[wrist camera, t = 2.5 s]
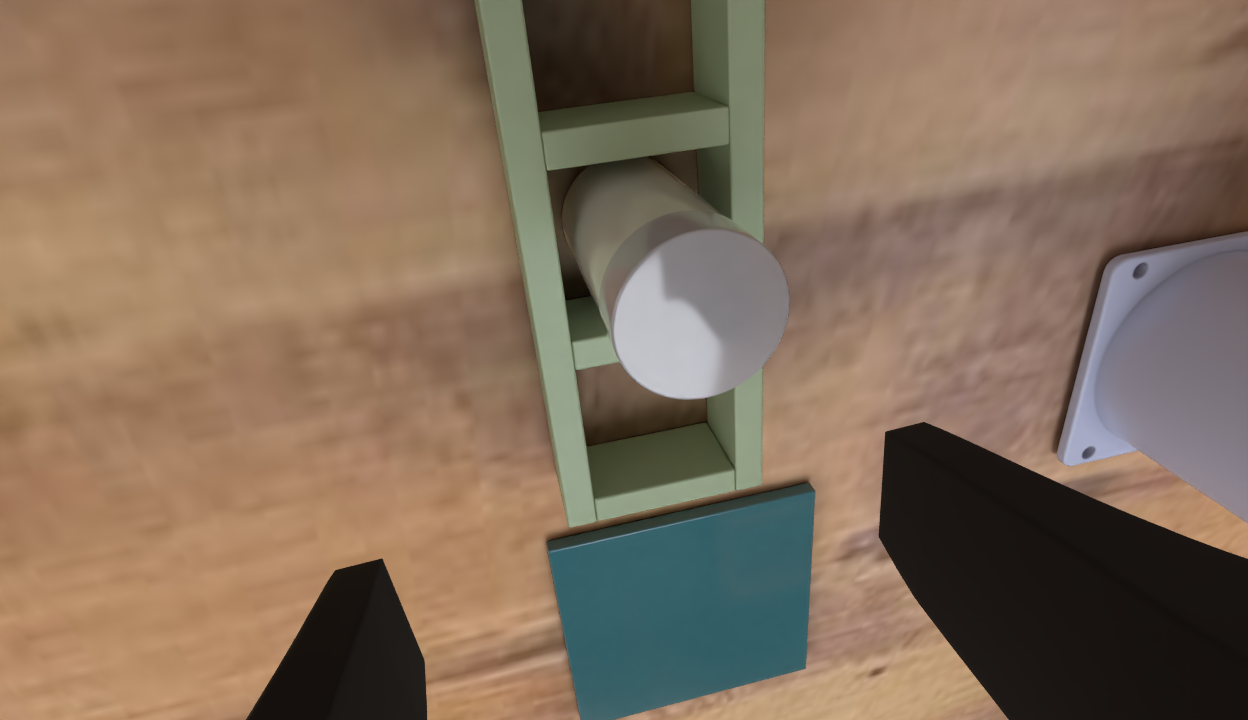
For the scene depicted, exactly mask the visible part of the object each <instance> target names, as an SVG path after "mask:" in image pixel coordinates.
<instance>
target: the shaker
mask: <svg viewBox="0 0 1248 720" xmlns="http://www.w3.org/2000/svg"><path fill="white" fill-rule="evenodd" d="M562 228H563V233H564V236H565V239H566V242H567V244H568V246H569V248H570V251H571V253H572V255H573V257H574V259H575V261H576V263H577V266H578V268H579V270H580V272H581V274H582V276H583V278H584V281H585V283H586V285H587V287H588V289H589V291H590V293H591V296H592V298H593V300H594V302H595V304H596V306H597V308H598V311H599V313H600V316H601V321H602V324H603V326H604V329H605V332H606V334H607V336H608V338H609V341H610V343H611V345H612V347H613V349H614V351H615V354H616V356H617V358H618V360H619V362H620V363H621V365H622V367H623V368H624V369H625V371H626V372H627V374H628V375H629V376H630V377H631V378H632V379H633V380H634V381H635V382H637V383H638V384H639V385H641V386H642V387H644V388H645V389H647V390H649V391H651V392H653V393H656V394H658V395H661V396H664V397H669V398H673V399H682V400H692V399H702V398H708V397H711V396H715V395H718V394H721V393H724V392H726V391H729V390H731V389H733V388H734V387H736V386H738V385H740V384H741V383H743V382H744V381H746V380H747V379H749V378H750V377H751V376H752V375H754V374H755V373H756V372H757V371H758V370H759V369H760V368H761V367H762V366H763V365H764V364H765V363H766V362H767V360H768V359H769V358H770V357H771V355H772V354H773V352H774V351H775V349H776V348H777V346H778V344H779V342H780V340H781V338H782V336H783V333H784V330H785V328H786V325H787V320H788V316H789V306H790V299H789V288H788V283H787V279H786V276H785V273H784V271H783V269H782V267H781V265H780V263H779V261H778V260H777V259H776V257H775V256H774V255H773V253H772V252H771V251H770V250H769V249H768V248H767V247H766V246H765V245H763V244H762V243H761V242H760V241H758V240H757V239H756V238H755V237H754V236H752V235H751V234H750V233H749V232H747V231H746V230H745V229H744V228H742V227H741V226H740V225H738V224H737V223H736V222H734V221H733V220H731V219H729V218H727V217H725V216H724V215H722V214H721V213H720V212H719V211H717V210H716V209H715V208H714V207H713V206H711V205H710V204H709V203H708V202H707V201H705V200H704V199H703V198H702V197H700V196H699V195H698V194H697V193H696V192H694V191H693V190H692V189H691V188H690V187H688V186H687V185H686V184H685V183H683V182H682V181H681V180H680V179H679V178H677V177H676V176H675V175H674V174H673V173H671V172H670V171H669V170H668V169H667V168H665V167H664V166H663V165H661V164H660V163H659V162H657V161H655V160H653V159H651V158H649V157H640V158H633V159H626V160H619V161H612V162H605V163H598V164H592V165H590V166H588V167H587V168H586V169H585V170H584V171H582V172H581V173H580V174H579V176H578V177H577V178H576V179H575V180H574V182H573V184H572V185H571V187H570V189H569V191H568V193H567V195H566V198H565V201H564V205H563V210H562Z"/></svg>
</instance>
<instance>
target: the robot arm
mask: <svg viewBox="0 0 1248 720" xmlns="http://www.w3.org/2000/svg"><path fill="white" fill-rule="evenodd" d="M1138 450H1139V451H1140V452H1142V453H1143V454H1145V455H1146V456H1148V457H1149V458H1151V459H1152V460H1154V461H1155V462H1157V463H1158V464H1160V465H1161V466H1163V467H1164V468H1166V469H1167V470H1169V471H1170V472H1172V473H1173V474H1175V475H1176V476H1178V477H1179V478H1181V479H1182V480H1183V481H1185V482H1186V483H1188V484H1189V485H1191V486H1192V487H1194V488H1195V489H1197V490H1198V491H1200V492H1201V493H1203V494H1204V495H1206V496H1207V497H1209V498H1210V499H1212V500H1213V501H1215V502H1216V503H1218V504H1219V505H1221V506H1222V507H1224V508H1225V509H1227V510H1228V511H1230V512H1231V513H1233V514H1234V515H1236V516H1237V517H1239V518H1240V519H1242V520H1243V521H1245V522H1246V523H1248V231H1246V232H1240V233H1235V234H1230V235H1224V236H1219V237H1213V238H1208V239H1203V240H1197V241H1192V242H1187V243H1181V244H1176V245H1170V246H1165V247H1160V248H1154V249H1149V250H1144V251H1138V252H1133V253H1127V254H1122V255H1119V256H1116V257H1115V258H1113V259H1112V260H1111V261H1110V262H1109V263H1108V264H1107V265H1106V267H1105V269H1104V272H1103V276H1102V279H1101V283H1100V287H1099V291H1098V295H1097V299H1096V303H1095V307H1094V310H1093V314H1092V318H1091V322H1090V326H1089V330H1088V334H1087V338H1086V342H1085V345H1084V349H1083V353H1082V357H1081V361H1080V365H1079V369H1078V373H1077V376H1076V380H1075V384H1074V388H1073V392H1072V396H1071V400H1070V404H1069V407H1068V411H1067V415H1066V419H1065V423H1064V427H1063V431H1062V435H1061V438H1060V442H1059V446H1058V450H1057V458H1058V460H1059V461H1061V462H1062V463H1063V464H1065V465H1067V466H1074V465H1078V464H1082V463H1087V462H1091V461H1095V460H1099V459H1104V458H1108V457H1112V456H1117V455H1121V454H1125V453H1129V452H1134V451H1138ZM879 538H880V540H881V542H882V543H883V545H884V547H885V549H886V550H887V552H888V554H889V556H890V557H891V559H892V561H893V563H894V564H895V566H896V568H897V570H898V571H899V573H900V575H901V576H902V578H903V579H904V581H905V583H906V584H907V586H908V588H909V589H910V591H911V592H912V594H913V596H914V597H915V599H916V600H917V601H918V603H919V604H920V605H921V607H922V608H923V609H924V611H925V612H926V613H927V615H928V616H929V617H930V619H931V620H932V621H933V623H934V624H935V625H936V626H937V628H938V629H939V630H940V632H941V633H942V634H943V636H944V637H945V638H946V640H947V641H948V642H949V643H950V645H951V646H952V647H953V649H954V650H955V651H956V652H957V654H958V655H959V656H960V658H961V659H962V660H963V661H964V663H965V664H966V665H967V667H968V668H969V669H970V670H971V672H972V673H973V674H974V676H975V677H976V678H977V679H978V681H979V682H980V683H981V685H982V686H983V687H984V688H985V690H986V691H987V692H988V693H989V695H990V696H991V697H992V699H993V700H994V701H995V702H996V704H997V705H998V706H999V708H1000V709H1001V710H1002V711H1003V713H1004V714H1005V715H1006V717H1007V718H1008V719H1009V720H1248V559H1246V558H1243V557H1240V556H1238V555H1235V554H1232V553H1229V552H1226V551H1223V550H1220V549H1218V548H1215V547H1212V546H1210V545H1207V544H1204V543H1202V542H1199V541H1196V540H1194V539H1191V538H1188V537H1186V536H1183V535H1181V534H1178V533H1176V532H1173V531H1171V530H1168V529H1166V528H1163V527H1161V526H1158V525H1156V524H1153V523H1151V522H1148V521H1146V520H1143V519H1141V518H1138V517H1136V516H1133V515H1131V514H1129V513H1126V512H1124V511H1121V510H1119V509H1117V508H1114V507H1112V506H1110V505H1107V504H1105V503H1103V502H1100V501H1098V500H1096V499H1093V498H1091V497H1089V496H1087V495H1084V494H1082V493H1080V492H1078V491H1075V490H1073V489H1071V488H1069V487H1066V486H1064V485H1062V484H1060V483H1058V482H1055V481H1053V480H1051V479H1049V478H1047V477H1044V476H1042V475H1040V474H1038V473H1036V472H1034V471H1031V470H1029V469H1027V468H1025V467H1023V466H1021V465H1018V464H1016V463H1014V462H1012V461H1010V460H1008V459H1006V458H1003V457H1001V456H999V455H997V454H995V453H993V452H991V451H988V450H986V449H984V448H982V447H980V446H978V445H975V444H973V443H971V442H969V441H967V440H965V439H962V438H960V437H958V436H956V435H954V434H951V433H949V432H947V431H944V430H942V429H940V428H937V427H935V426H933V425H930V424H928V423H925V422H922V423H918V424H914V425H910V426H906V427H902V428H898V429H894V430H891V431H887V432H885V446H884V462H883V477H882V493H881V509H880V525H879ZM246 720H427V700H426V681H425V662H424V658H423V656H422V653H421V651H420V648H419V646H418V644H417V641H416V639H415V636H414V634H413V632H412V629H411V627H410V624H409V622H408V620H407V617H406V615H405V612H404V610H403V607H402V605H401V603H400V600H399V598H398V595H397V593H396V591H395V588H394V586H393V583H392V581H391V579H390V576H389V574H388V571H387V569H386V567H385V564H384V562H383V559H378V560H374V561H370V562H366V563H362V564H358V565H354V566H350V567H346V568H342V569H338V570H335V571H334V573H333V574H332V576H331V577H330V579H329V580H328V582H327V584H326V585H325V587H324V589H323V591H322V592H321V594H320V596H319V597H318V599H317V601H316V603H315V604H314V606H313V608H312V610H311V611H310V613H309V615H308V617H307V618H306V620H305V622H304V624H303V625H302V627H301V629H300V631H299V632H298V634H297V636H296V638H295V639H294V641H293V643H292V644H291V646H290V648H289V650H288V651H287V653H286V655H285V656H284V658H283V660H282V662H281V663H280V665H279V667H278V668H277V670H276V672H275V673H274V675H273V677H272V678H271V680H270V681H269V683H268V685H267V686H266V688H265V690H264V691H263V693H262V695H261V696H260V698H259V699H258V701H257V703H256V704H255V706H254V708H253V709H252V711H251V712H250V714H249V716H248V717H247V719H246Z"/></svg>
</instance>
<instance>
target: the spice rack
mask: <svg viewBox="0 0 1248 720" xmlns="http://www.w3.org/2000/svg"><path fill="white" fill-rule="evenodd" d="M474 2H475V8H476V14H477V19H478V25H479V31H480V37H481V42H482V48H483V54H484V60H485V65H486V71H487V77H488V83H489V88H490V94H491V100H492V106H493V111H494V117H495V123H496V129H497V134H498V140H499V146H500V152H501V157H502V163H503V169H504V175H505V180H506V186H507V192H508V198H509V203H510V209H511V215H512V221H513V226H514V232H515V238H516V244H517V249H518V255H519V261H520V267H521V272H522V278H523V284H524V290H525V295H526V301H527V307H528V313H529V318H530V324H531V330H532V336H533V341H534V347H535V353H536V359H537V364H538V370H539V376H540V382H541V387H542V393H543V399H544V405H545V410H546V416H547V422H548V428H549V433H550V439H551V445H552V451H553V456H554V462H555V468H556V474H557V478H558V483H559V487H560V492H561V496H562V500H563V505H564V509H565V514H566V518H567V523H568V526H569V527H570V528H571V527H576V526H580V525H585V524H589V523H594V522H596V521H597V520H598V521H601V520H606V519H610V518H615V517H619V516H624V515H628V514H633V513H637V512H642V511H646V510H651V509H655V508H660V507H664V506H669V505H673V504H678V503H682V502H687V501H691V500H696V499H700V498H705V497H709V496H714V495H718V494H723V493H727V492H732V491H734V490H735V489H736V490H742V489H747V488H751V487H756V486H760V485H762V415H763V366H762V367H761V368H760V369H759V370H758V371H757V372H756V373H755V374H754V375H752V376H751V377H750V378H749V379H747V380H746V381H744V382H743V383H741V384H740V385H738V386H736V387H734V388H733V389H731V390H729V391H726V392H724V393H721V394H718V395H715V396H711V397H708V398H707V418H708V424H707V423H700V424H696V425H691V426H686V427H681V428H676V429H671V430H666V431H662V432H657V433H652V434H647V435H642V436H637V437H632V438H628V439H623V440H618V441H613V442H608V443H603V444H598V445H594V446H589V447H586V440H585V434H584V427H583V420H582V413H581V406H580V399H579V392H578V385H577V378H576V371H575V368H576V370H580V369H585V368H590V367H595V366H601V365H606V364H611V363H617V362H619V360H618V358H617V356H616V354H615V351H614V349H613V347H612V345H611V343H610V341H609V338H608V336H607V334H606V332H605V329H604V326H603V324H602V321H601V316H600V313H599V311H598V308H597V306H596V304H595V302H594V300H593V298H592V296H589V297H583V298H577V299H571V300H566V301H565V295H564V288H563V281H562V274H561V267H560V260H559V253H558V247H557V240H556V233H555V226H554V219H553V212H552V205H551V198H550V191H549V184H548V177H547V170H548V171H550V170H557V169H564V168H571V167H578V166H585V165H592V164H598V163H605V162H612V161H619V160H626V159H633V158H640V157H647V156H653V155H660V154H667V153H674V152H681V151H688V150H695V149H697V169H698V194H699V196H700V197H702V198H703V199H704V200H705V201H707V202H708V203H709V204H710V205H711V206H713V207H714V208H715V209H716V210H717V211H719V212H720V213H721V214H722V215H724V216H725V217H727V218H729V219H731V220H733V221H734V222H736V223H737V224H738V225H740V226H741V227H742V228H744V229H745V230H746V231H747V232H749V233H750V234H751V235H752V236H754V237H755V238H756V239H757V240H758V241H760V242H761V243H762V244H763V235H764V55H765V0H691V20H692V45H693V70H694V92H686V93H678V94H671V95H663V96H656V97H648V98H641V99H633V100H626V101H618V102H611V103H603V104H596V105H588V106H580V107H573V108H565V109H558V110H550V111H543V112H538V108H537V101H536V94H535V87H534V80H533V73H532V67H531V60H530V53H529V46H528V39H527V32H526V25H525V18H524V11H523V4H522V0H474ZM546 169H547V170H546Z"/></svg>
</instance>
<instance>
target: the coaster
mask: <svg viewBox="0 0 1248 720" xmlns="http://www.w3.org/2000/svg"><path fill="white" fill-rule="evenodd" d="M814 506H815V490H814V489H813V487H812V486H811V485H810V483H805V484H800V485H796V486H792V487H787V488H783V489H778V490H774V491H769V492H765V493H760V494H756V495H751V496H747V497H742V498H738V499H734V500H729V501H725V502H720V503H716V504H711V505H707V506H702V507H698V508H693V509H689V510H684V511H680V512H675V513H671V514H667V515H662V516H658V517H653V518H649V519H644V520H640V521H635V522H631V523H626V524H622V525H617V526H613V527H609V528H604V529H600V530H595V531H591V532H586V533H582V534H577V535H573V536H568V537H564V538H559V539H555V540H551V541H547V542H546V545H547V551H548V556H549V561H550V566H551V572H552V577H553V582H554V587H555V592H556V597H557V602H558V608H559V613H560V618H561V623H562V628H563V633H564V638H565V643H566V649H567V654H568V659H569V664H570V669H571V674H572V679H573V684H574V690H575V695H576V700H577V705H578V710H579V715H580V720H615V719H618V718H622V717H626V716H630V715H634V714H637V713H641V712H645V711H649V710H652V709H656V708H660V707H664V706H667V705H671V704H675V703H679V702H682V701H686V700H690V699H694V698H698V697H701V696H705V695H709V694H713V693H716V692H720V691H724V690H728V689H731V688H735V687H739V686H743V685H746V684H750V683H754V682H758V681H762V680H765V679H769V678H773V677H777V676H780V675H784V674H788V673H792V672H795V671H799V670H803V669H806V658H807V639H808V620H809V601H810V582H811V563H812V544H813V525H814Z"/></svg>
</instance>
